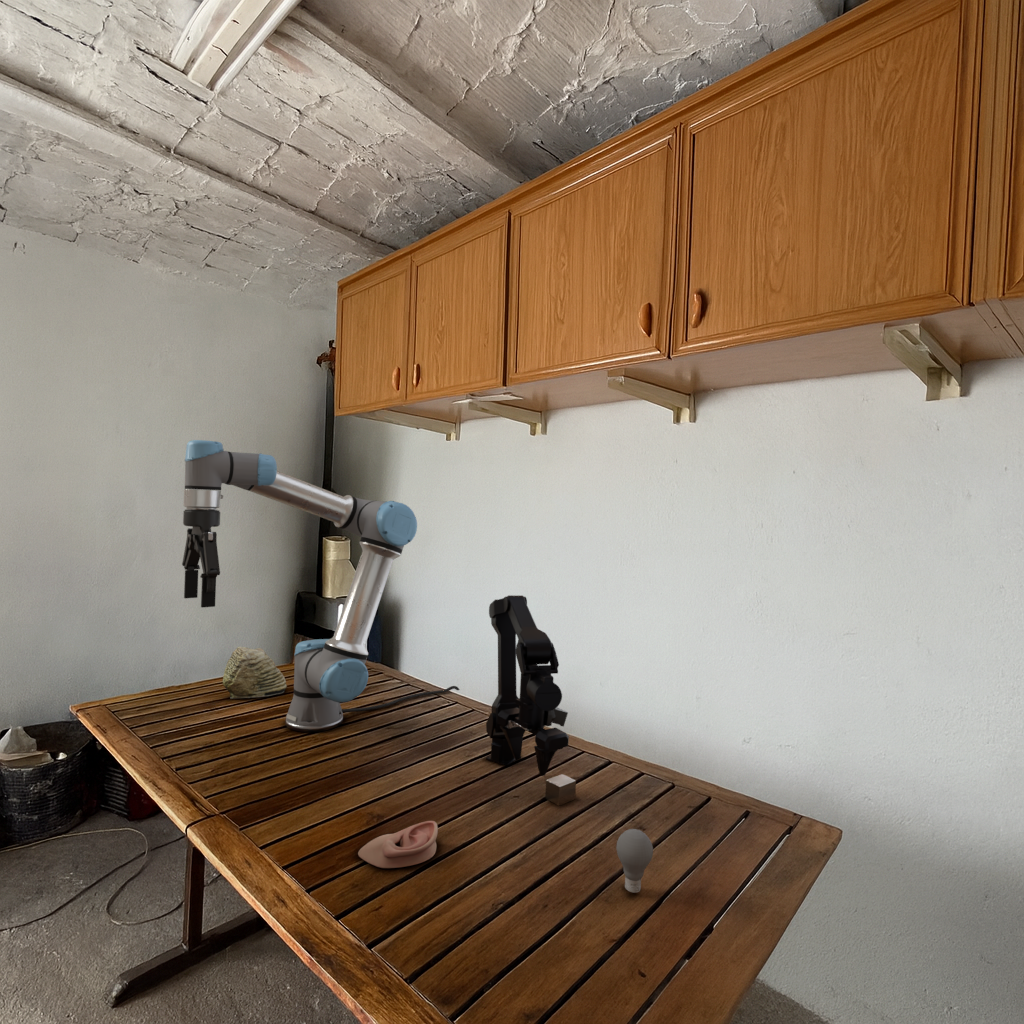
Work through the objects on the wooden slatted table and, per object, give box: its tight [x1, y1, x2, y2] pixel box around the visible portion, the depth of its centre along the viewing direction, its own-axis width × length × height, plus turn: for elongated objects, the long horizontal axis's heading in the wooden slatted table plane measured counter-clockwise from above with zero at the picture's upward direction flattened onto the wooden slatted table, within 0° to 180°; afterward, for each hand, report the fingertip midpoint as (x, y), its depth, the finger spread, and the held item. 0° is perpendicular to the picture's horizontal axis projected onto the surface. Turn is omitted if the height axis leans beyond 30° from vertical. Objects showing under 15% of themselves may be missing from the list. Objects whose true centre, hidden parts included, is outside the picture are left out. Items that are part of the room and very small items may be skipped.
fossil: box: [222, 646, 288, 699], centre depth 198 cm, size 9×18×15 cm, turn 132°
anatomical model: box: [357, 820, 439, 869], centre depth 114 cm, size 13×4×12 cm
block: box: [544, 773, 577, 807], centre depth 138 cm, size 5×4×4 cm
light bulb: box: [615, 828, 654, 894], centre depth 106 cm, size 6×6×10 cm
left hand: (199, 602), depth 144 cm, fingers open, 13 cm apart
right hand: (529, 767), depth 137 cm, fingers open, 9 cm apart
